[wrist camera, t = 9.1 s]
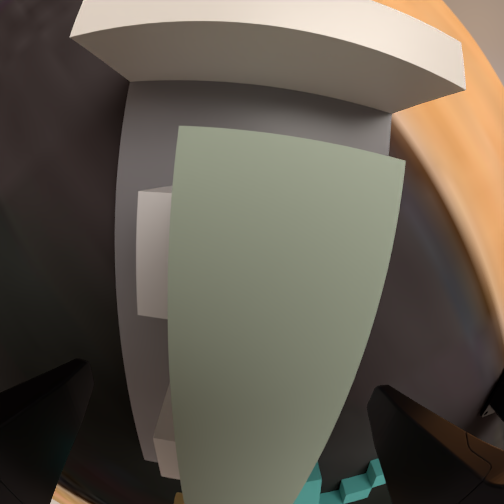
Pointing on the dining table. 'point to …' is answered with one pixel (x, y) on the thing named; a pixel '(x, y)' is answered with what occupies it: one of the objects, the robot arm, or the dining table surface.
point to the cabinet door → (269, 302)
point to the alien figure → (341, 487)
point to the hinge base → (237, 124)
